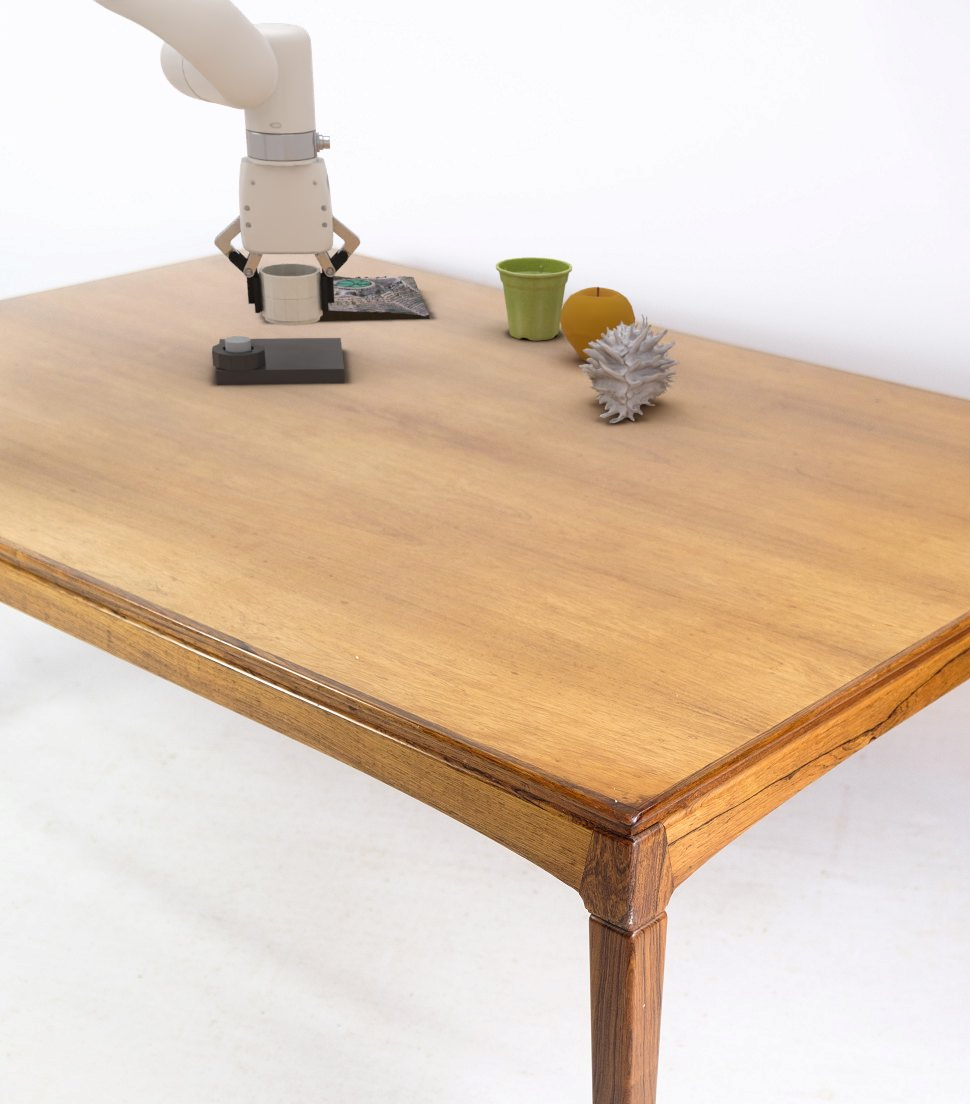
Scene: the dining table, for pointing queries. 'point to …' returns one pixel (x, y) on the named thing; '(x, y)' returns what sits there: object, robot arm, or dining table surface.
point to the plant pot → (534, 295)
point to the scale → (281, 362)
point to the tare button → (238, 344)
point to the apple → (593, 316)
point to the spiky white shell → (629, 369)
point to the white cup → (291, 293)
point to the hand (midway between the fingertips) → (292, 308)
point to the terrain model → (375, 299)
